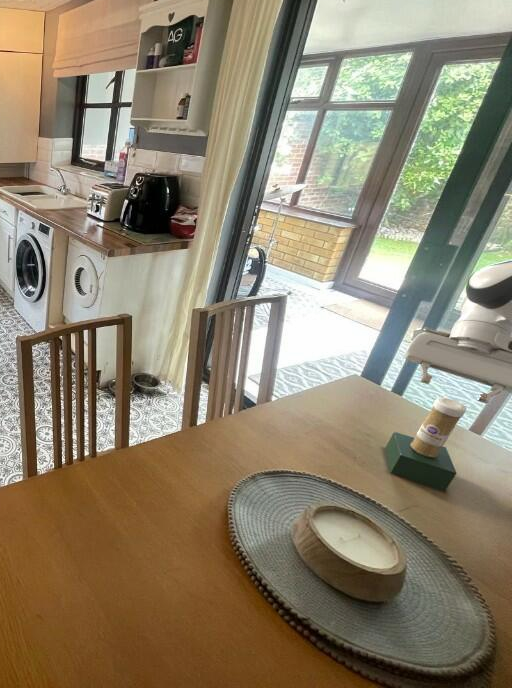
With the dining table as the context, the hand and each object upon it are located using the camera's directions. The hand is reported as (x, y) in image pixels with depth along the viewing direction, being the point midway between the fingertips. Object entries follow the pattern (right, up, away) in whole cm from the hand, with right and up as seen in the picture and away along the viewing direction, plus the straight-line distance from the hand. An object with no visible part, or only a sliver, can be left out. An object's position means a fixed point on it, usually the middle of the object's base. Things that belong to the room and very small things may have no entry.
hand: (452, 391), depth 94 cm
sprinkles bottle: (-9, -13, -2) cm, 16 cm away
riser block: (-9, -18, 0) cm, 20 cm away
